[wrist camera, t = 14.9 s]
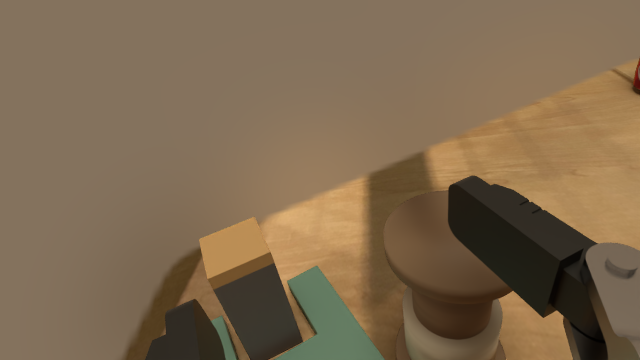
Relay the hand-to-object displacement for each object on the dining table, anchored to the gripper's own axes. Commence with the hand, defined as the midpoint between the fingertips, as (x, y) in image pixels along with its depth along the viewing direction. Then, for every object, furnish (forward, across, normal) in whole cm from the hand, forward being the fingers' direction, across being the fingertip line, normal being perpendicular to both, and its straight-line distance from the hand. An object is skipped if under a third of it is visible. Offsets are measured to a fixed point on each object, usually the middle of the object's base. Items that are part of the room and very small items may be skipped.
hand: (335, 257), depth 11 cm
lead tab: (+11, +4, +18) cm, 21 cm away
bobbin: (+3, -7, +18) cm, 20 cm away
